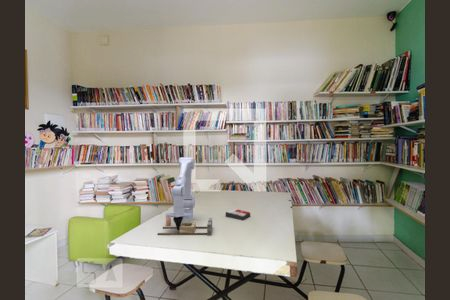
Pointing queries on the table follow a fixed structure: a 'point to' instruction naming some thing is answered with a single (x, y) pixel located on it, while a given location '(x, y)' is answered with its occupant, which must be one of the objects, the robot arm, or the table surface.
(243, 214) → the hard drive
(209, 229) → the rail board
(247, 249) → the table surface
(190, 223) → the wooden square frame
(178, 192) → the robot arm
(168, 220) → the dowel
